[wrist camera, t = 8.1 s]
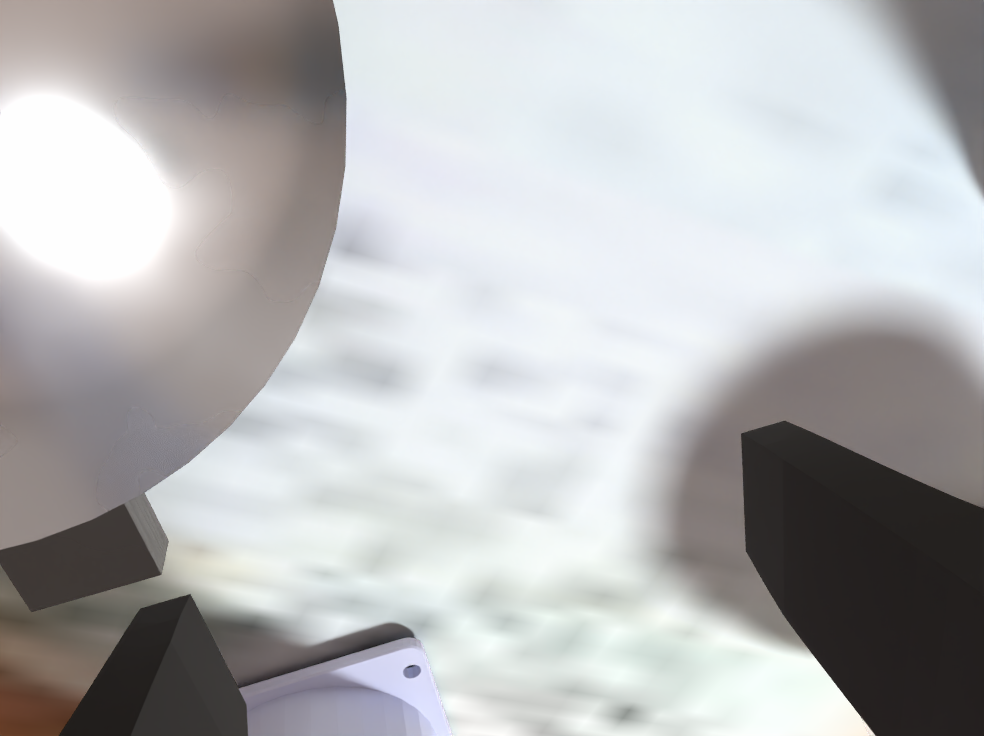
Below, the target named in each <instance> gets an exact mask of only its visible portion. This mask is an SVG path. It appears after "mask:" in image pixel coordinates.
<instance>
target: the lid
mask: <svg viewBox="0 0 984 736" xmlns="http://www.w3.org/2000/svg"><path fill="white" fill-rule="evenodd" d="M345 150H346V90H345V81H344V72H343V63H342V54H341V45H340V35H339V26H338V21H337V17H336V13H335V8H334V4H333V0H0V550H2V549H6V548H9V547H13V546H17V545H21V544H25V543H29V542H33V541H37V540H39V539H42V538H45V537H47V536H50V535H53V534H55V533H58V532H61V531H63V530H66V529H69V528H71V527H74V526H77V525H79V524H82V523H85V522H87V521H90V520H92V519H94V518H96V517H98V516H100V515H102V514H104V513H106V512H108V511H110V510H112V509H114V508H116V507H118V506H120V505H122V504H124V503H126V502H128V501H130V500H132V499H133V498H135V497H137V496H139V495H141V494H143V493H145V492H146V491H147V490H149V489H150V488H152V487H153V486H155V485H156V484H158V483H159V482H161V481H162V480H164V479H165V478H167V477H168V476H170V475H171V474H173V473H174V472H176V471H177V470H178V469H180V468H181V467H183V466H184V465H186V464H187V463H189V462H190V461H191V460H192V459H193V458H194V457H195V456H197V455H198V454H199V453H200V452H201V451H202V450H203V449H205V448H206V447H207V446H208V445H209V444H210V443H211V442H212V441H214V440H215V439H216V438H217V437H218V436H219V435H220V434H221V433H223V432H224V431H225V430H226V429H227V428H228V427H229V426H230V425H231V424H232V423H233V422H234V421H235V419H236V418H237V417H238V416H239V415H240V414H241V412H242V411H243V410H244V409H245V408H246V407H247V405H248V404H249V403H250V402H251V401H252V400H253V398H254V397H255V396H256V395H257V394H258V393H259V391H260V390H261V389H262V388H263V387H264V386H265V384H266V383H267V381H268V380H269V378H270V377H271V375H272V373H273V372H274V370H275V369H276V367H277V366H278V364H279V362H280V361H281V359H282V358H283V356H284V355H285V353H286V352H287V350H288V348H289V347H290V345H291V344H292V342H293V341H294V339H295V337H296V335H297V333H298V331H299V328H300V326H301V324H302V322H303V320H304V318H305V315H306V313H307V311H308V309H309V307H310V304H311V302H312V300H313V298H314V296H315V293H316V291H317V289H318V287H319V284H320V280H321V277H322V274H323V270H324V267H325V264H326V260H327V257H328V253H329V250H330V247H331V243H332V240H333V237H334V233H335V230H336V224H337V217H338V211H339V204H340V198H341V191H342V184H343V178H344V171H345Z"/></svg>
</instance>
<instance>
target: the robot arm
mask: <svg viewBox="0 0 984 736" xmlns="http://www.w3.org/2000/svg"><path fill="white" fill-rule="evenodd" d="M741 439H742V464H743V490H744V515H745V541H746V552H747V554H748V555H749V557H750V559H751V561H752V562H753V564H754V566H755V568H756V570H757V571H758V573H759V575H760V577H761V578H762V580H763V582H764V584H765V585H766V587H767V589H768V590H769V592H770V594H771V595H772V597H773V599H774V600H775V602H776V604H777V605H778V607H779V609H780V610H781V612H782V614H783V615H784V617H785V618H786V619H787V621H788V622H789V623H790V625H791V626H792V628H793V629H794V630H795V632H796V633H797V634H798V636H799V637H800V638H801V639H802V641H803V642H804V643H805V645H806V646H807V647H808V649H809V650H810V651H811V653H812V654H813V655H814V657H815V658H816V659H817V661H818V662H819V663H820V664H821V666H822V667H823V668H824V670H825V671H826V672H827V674H828V675H829V676H830V677H831V679H832V680H833V681H834V683H835V684H836V685H837V687H838V688H839V689H840V690H841V692H842V693H843V694H844V696H845V697H846V698H847V699H848V701H849V702H850V703H851V705H852V706H853V707H854V709H855V710H856V711H857V712H858V714H859V715H860V716H861V718H862V719H863V720H864V721H865V723H866V724H867V725H868V727H869V728H870V729H871V731H872V732H873V733H874V734H875V736H984V509H982V508H980V507H977V506H975V505H973V504H970V503H968V502H965V501H963V500H961V499H958V498H956V497H953V496H951V495H949V494H946V493H944V492H942V491H939V490H937V489H935V488H933V487H930V486H928V485H926V484H923V483H921V482H919V481H917V480H914V479H912V478H910V477H908V476H906V475H903V474H901V473H899V472H897V471H894V470H892V469H890V468H888V467H886V466H883V465H881V464H879V463H877V462H875V461H873V460H871V459H868V458H866V457H864V456H862V455H860V454H858V453H855V452H853V451H851V450H849V449H847V448H845V447H842V446H840V445H838V444H836V443H834V442H832V441H830V440H827V439H825V438H823V437H821V436H819V435H816V434H814V433H812V432H810V431H807V430H805V429H803V428H801V427H798V426H796V425H793V424H791V423H789V422H786V421H782V422H779V423H775V424H772V425H769V426H765V427H762V428H758V429H755V430H751V431H748V432H745V433H741ZM409 665H416V666H414V667H410V668H407V666H409ZM59 736H453V735H452V732H451V729H450V726H449V723H448V720H447V717H446V714H445V711H444V708H443V705H442V701H441V698H440V695H439V692H438V689H437V686H436V683H435V680H434V677H433V674H432V671H431V668H430V665H429V662H428V659H427V655H426V652H425V649H424V646H423V644H422V643H421V641H419V640H417V639H416V638H410V637H408V638H402V639H399V640H396V641H392V642H389V643H386V644H382V645H379V646H376V647H373V648H369V649H366V650H363V651H360V652H356V653H353V654H350V655H346V656H343V657H340V658H337V659H333V660H330V661H327V662H324V663H320V664H317V665H314V666H310V667H307V668H304V669H301V670H297V671H294V672H291V673H287V674H284V675H281V676H278V677H274V678H271V679H268V680H265V681H261V682H258V683H255V684H251V685H248V686H245V687H242V688H238V687H237V685H236V683H235V681H234V679H233V677H232V675H231V673H230V671H229V669H228V667H227V665H226V663H225V661H224V659H223V657H222V655H221V653H220V651H219V649H218V647H217V645H216V643H215V641H214V639H213V637H212V635H211V633H210V631H209V629H208V628H207V626H206V624H205V622H204V620H203V618H202V616H201V614H200V612H199V610H198V608H197V606H196V604H195V602H194V600H193V598H192V596H191V594H189V595H186V596H182V597H179V598H175V599H172V600H169V601H165V602H162V603H158V604H155V605H151V606H148V607H145V608H141V609H140V610H139V612H138V613H137V615H136V616H135V618H134V619H133V621H132V622H131V624H130V625H129V627H128V628H127V630H126V631H125V633H124V635H123V636H122V638H121V639H120V641H119V642H118V644H117V646H116V647H115V649H114V650H113V652H112V653H111V655H110V657H109V658H108V660H107V661H106V663H105V664H104V666H103V668H102V669H101V671H100V672H99V674H98V676H97V677H96V679H95V680H94V682H93V683H92V685H91V687H90V688H89V690H88V691H87V693H86V694H85V696H84V698H83V699H82V701H81V702H80V704H79V705H78V707H77V709H76V710H75V712H74V713H73V715H72V716H71V718H70V719H69V721H68V722H67V724H66V725H65V727H64V729H63V730H62V732H61V733H60V735H59Z"/></svg>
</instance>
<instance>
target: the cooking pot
mask: <svg viewBox="0 0 984 736" xmlns="http://www.w3.org/2000/svg"><path fill="white" fill-rule="evenodd" d="M167 546H168V539H167V537H166V535H165V533H164V531H163V529H162V527H161V525H160V523H159V521H158V519H157V517H156V515H155V513H154V511H153V509H152V507H151V505H150V503H149V501H148V499H147V497H146V495H145V493H143V494H141V495H139V496H137V497H135V498H133V499H132V500H130V501H128V502H126V503H124V504H122V505H120V506H118V507H116V508H114V509H112V510H110V511H108V512H106V513H104V514H102V515H100V516H98V517H96V518H94V519H92V520H90V521H87V522H85V523H82V524H79V525H77V526H74V527H71V528H69V529H66V530H63V531H61V532H58V533H55V534H53V535H50V536H47V537H45V538H42V539H39V540H37V541H33V542H29V543H25V544H21V545H17V546H13V547H9V548H6V549H2V550H0V564H1V566H2V567H3V569H4V571H5V572H6V574H7V575H8V577H9V578H10V580H11V581H12V583H13V584H14V586H15V587H16V589H17V591H18V592H19V594H20V595H21V597H22V598H23V600H24V601H25V603H26V604H27V606H28V607H29V609H30V611H31V612H34V611H37V610H41V609H44V608H47V607H51V606H54V605H58V604H61V603H65V602H68V601H72V600H75V599H79V598H82V597H86V596H89V595H93V594H96V593H100V592H103V591H106V590H110V589H113V588H117V587H120V586H124V585H127V584H131V583H134V582H138V581H141V580H145V579H148V578H152V577H155V576H159V575H162V570H163V565H164V560H165V555H166V551H167Z"/></svg>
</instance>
